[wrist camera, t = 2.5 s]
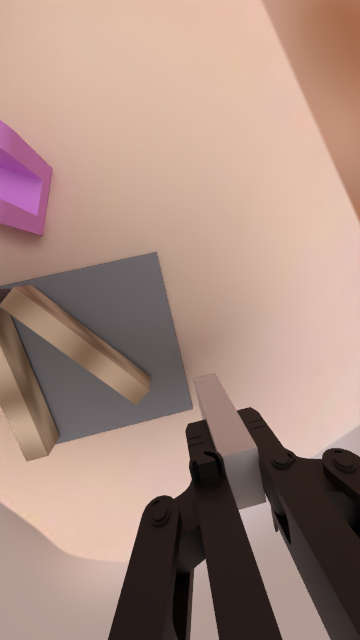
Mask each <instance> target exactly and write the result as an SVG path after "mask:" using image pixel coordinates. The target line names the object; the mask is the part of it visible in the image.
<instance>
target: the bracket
mask: <svg viewBox="0 0 360 640" xmlns="http://www.w3.org/2000/svg"><path fill="white" fill-rule="evenodd" d="M51 174H52V168H51V167H50V166H49V165H48V164H47V163H46V162H45V161H44V160H43V159H42V158H41V157H40V156H39V155H38V154H37V153H36V152H35V151H34V150H33V149H32V148H31V147H30V146H29V145H28V144H27V143H26V142H25V141H24V140H23V139H22V138H21V137H20V136H19V135H18V134H17V133H16V132H15V131H14V130H12V129H11V128H10V127H9V126H8V125H6V124H5V123H3V122H2V121H0V224H2V225H6V226H10V227H13V228H17V229H20V230H24V231H27V232H31V233H35V234H38V235H43V228H44V221H45V214H46V208H47V201H48V194H49V187H50V181H51Z"/></svg>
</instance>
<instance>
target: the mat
mask: <svg viewBox="0 0 360 640" xmlns="http://www.w3.org/2000/svg"><path fill="white" fill-rule="evenodd" d="M27 285H32V286H34V287H35V288H36V289H37V290H39V291H40V292H41V293H43V294H44V295H45V296H46V297H48V298H49V299H50V300H52V301H53V302H54V303H56V304H57V305H58V306H59V307H61V308H62V309H63V310H65V311H66V312H67V313H68V314H70V315H71V316H72V317H74V318H75V319H76V320H77V321H79V322H80V323H81V324H83V325H84V326H85V327H86V328H88V329H89V330H90V331H92V332H93V333H94V334H95V335H97V336H98V337H99V338H101V339H102V340H103V341H105V342H106V343H107V344H108V345H110V346H111V347H112V348H114V349H115V350H116V351H117V352H119V353H120V354H121V355H123V356H124V357H125V358H126V359H128V360H129V361H130V362H132V363H133V364H134V365H135V366H137V367H138V368H139V369H141V370H142V371H143V372H144V373H146V374H147V375H148V376H150V377H151V381H150V390H149V392H148V393H147V394H146V395H145V396H144V397H143V398H142V399H141V400H140V401H139V402H138V403H137V404H136V405H135V404H133V403H132V402H131V401H129V400H128V399H127V398H125V397H124V396H122V395H121V394H120V393H118V392H117V391H116V390H114V389H113V388H111V387H110V386H109V385H107V384H106V383H105V382H103V381H102V380H100V379H99V378H98V377H96V376H95V375H94V374H92V373H91V372H89V371H88V370H87V369H85V368H84V367H82V366H81V365H80V364H78V363H77V362H76V361H74V360H73V359H71V358H70V357H69V356H67V355H66V354H65V353H63V352H62V351H60V350H59V349H58V348H56V347H55V346H54V345H52V344H51V343H49V342H48V341H47V340H45V339H44V338H43V337H41V336H40V335H38V334H37V333H36V332H34V331H33V330H31V329H30V328H29V327H27V326H26V325H25V324H23V323H22V322H20V321H19V320H18V319H16V318H15V317H14V316H12V315H11V314H10V316H11V319H12V321H13V324H14V326H15V329H16V331H17V334H18V336H19V338H20V341H21V343H22V346H23V348H24V351H25V353H26V356H27V358H28V360H29V363H30V365H31V368H32V370H33V373H34V375H35V378H36V380H37V382H38V385H39V387H40V390H41V392H42V395H43V397H44V400H45V402H46V405H47V407H48V409H49V412H50V414H51V417H52V419H53V422H54V424H55V427H56V429H57V431H58V434H59V436H60V437H59V438H58V440H57V442H56V443H55V444H59V443H63V442H66V441H70V440H74V439H78V438H82V437H86V436H90V435H94V434H98V433H101V432H105V431H109V430H113V429H117V428H121V427H125V426H129V425H132V424H136V423H140V422H144V421H148V420H152V419H156V418H160V417H163V416H167V415H171V414H175V413H179V412H183V411H187V410H191V409H193V407H192V403H191V398H190V394H189V390H188V385H187V381H186V377H185V372H184V368H183V364H182V360H181V355H180V351H179V347H178V342H177V338H176V334H175V329H174V325H173V321H172V317H171V312H170V308H169V304H168V299H167V295H166V291H165V286H164V282H163V278H162V274H161V269H160V265H159V261H158V256H157V252H154V253H150V254H145V255H140V256H136V257H131V258H127V259H122V260H118V261H113V262H109V263H104V264H99V265H95V266H90V267H86V268H81V269H77V270H72V271H68V272H63V273H58V274H54V275H49V276H45V277H40V278H36V279H31V280H27V281H22V282H17V283H13V284H8V285H4V286H0V289H11V290H12V289H13V288H14V287H18V286H27ZM1 309H3V308H1V307H0V310H1Z"/></svg>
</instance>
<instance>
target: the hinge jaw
mask: <svg viewBox="0 0 360 640" xmlns="http://www.w3.org/2000/svg"><path fill="white" fill-rule="evenodd" d="M0 307H1V308H3V309H4V310H5V311H7V312H8V313H9V314H11V315H12V316H14V317H15V318H16V319H18V320H19V321H20V322H22V323H23V324H25V325H26V326H27V327H29V328H30V329H31V330H33V331H34V332H36V333H37V334H38V335H40V336H41V337H43V338H44V339H45V340H47V341H48V342H49V343H51V344H52V345H54V346H55V347H56V348H58V349H59V350H60V351H62V352H63V353H65V354H66V355H67V356H69V357H70V358H71V359H73V360H74V361H76V362H77V363H78V364H80V365H81V366H82V367H84V368H85V369H87V370H88V371H89V372H91V373H92V374H94V375H95V376H96V377H98V378H99V379H100V380H102V381H103V382H105V383H106V384H107V385H109V386H110V387H111V388H113V389H114V390H116V391H117V392H118V393H120V394H121V395H122V396H124V397H125V398H127V399H128V400H129V401H131V402H132V403H133V404H135V405H136V404H137V403H138V402H139V401H140V400H141V399H142V398H143V397H144V396H145V395H146V394H147V393H148V392H149V390H150V381H151V377H150V376H148V375H147V374H146V373H144V372H143V371H142V370H141V369H139V368H138V367H137V366H135V365H134V364H133V363H132V362H130V361H129V360H128V359H126V358H125V357H124V356H123V355H121V354H120V353H119V352H117V351H116V350H115V349H114V348H112V347H111V346H110V345H108V344H107V343H106V342H105V341H103V340H102V339H101V338H99V337H98V336H97V335H95V334H94V333H93V332H92V331H90V330H89V329H88V328H86V327H85V326H84V325H83V324H81V323H80V322H79V321H77V320H76V319H75V318H74V317H72V316H71V315H70V314H68V313H67V312H66V311H65V310H63V309H62V308H61V307H59V306H58V305H57V304H56V303H54V302H53V301H52V300H50V299H49V298H48V297H46V296H45V295H44V294H43V293H41V292H40V291H39V290H37V289H36V288H35V287H34V286H32V285H27V286H18V287H14V288H13V289H12V290H11V291H10V292H9V294H8V295H7V296H6V297H5V299H4V300H3V301H2V302H1V304H0Z"/></svg>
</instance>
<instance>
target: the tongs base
mask: <svg viewBox="0 0 360 640" xmlns="http://www.w3.org/2000/svg"><path fill="white" fill-rule="evenodd" d="M10 291H11V289H0V304H1V302H2V301H3V300H4V299H5V297H6V296H7V295H8V294H9V292H10ZM0 405H1V407H2V410H3V412H4V414H5V416H6V418H7V420H8V422H9V425H10V427H11V429H12V431H13V433H14V435H15V438H16V440H17V442H18V444H19V446H20V448H21V450H22V453H23V455H24V457H25V459H26V461H30V460H34V459H38V458H42V457H45V456H48V455H49V453H50V452H51V450H52V448H53V447H54V445H55V443H56V442H57V440H58V438H59V437H60V436H59V434H58V431H57V429H56V427H55V424H54V422H53V419H52V417H51V414H50V412H49V409H48V407H47V405H46V402H45V400H44V397H43V395H42V392H41V390H40V387H39V385H38V382H37V380H36V378H35V375H34V373H33V370H32V368H31V365H30V363H29V360H28V358H27V356H26V353H25V351H24V348H23V346H22V343H21V341H20V338H19V336H18V334H17V331H16V329H15V326H14V324H13V321H12V319H11V316H10V314H9V313H8V312H7V311H5V310H4V309H1V310H0Z"/></svg>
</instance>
